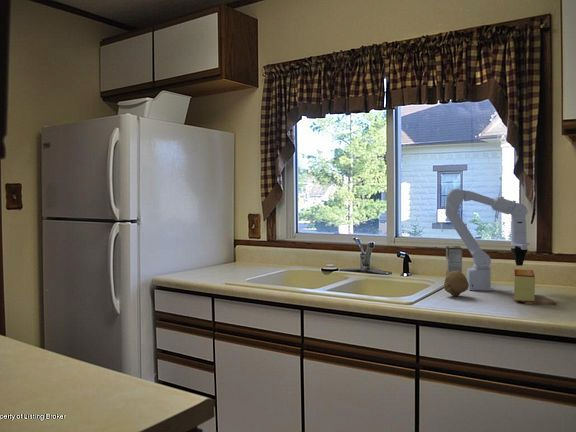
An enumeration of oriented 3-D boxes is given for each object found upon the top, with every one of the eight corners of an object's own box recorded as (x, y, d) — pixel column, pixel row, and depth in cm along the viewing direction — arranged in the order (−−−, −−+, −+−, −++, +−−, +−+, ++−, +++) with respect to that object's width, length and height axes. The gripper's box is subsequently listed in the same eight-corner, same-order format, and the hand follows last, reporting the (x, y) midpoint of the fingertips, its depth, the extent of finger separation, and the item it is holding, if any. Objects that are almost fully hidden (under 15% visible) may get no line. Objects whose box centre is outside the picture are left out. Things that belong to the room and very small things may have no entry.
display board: (526, 304, 182) (526, 302, 182) (514, 296, 196) (514, 294, 196) (556, 304, 181) (556, 302, 181) (542, 297, 195) (542, 295, 195)
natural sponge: (473, 296, 198) (473, 270, 197) (461, 299, 192) (461, 273, 192) (452, 293, 205) (452, 268, 204) (440, 296, 199) (440, 270, 198)
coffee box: (445, 280, 236) (445, 245, 236) (459, 280, 235) (459, 245, 234) (447, 283, 227) (447, 247, 227) (462, 283, 226) (462, 247, 225)
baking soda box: (532, 294, 196) (534, 302, 182) (514, 293, 199) (514, 301, 184) (532, 270, 196) (534, 276, 181) (514, 269, 199) (514, 275, 184)
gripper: (535, 233, 200) (535, 267, 200) (523, 231, 214) (524, 263, 215) (516, 233, 201) (516, 267, 201) (506, 231, 215) (506, 263, 216)
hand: (519, 265), depth 208 cm, fingers closed
